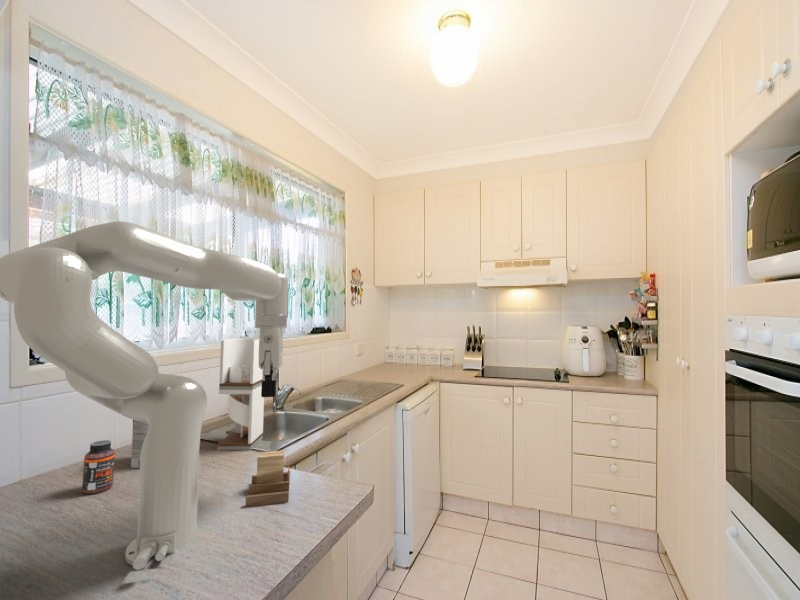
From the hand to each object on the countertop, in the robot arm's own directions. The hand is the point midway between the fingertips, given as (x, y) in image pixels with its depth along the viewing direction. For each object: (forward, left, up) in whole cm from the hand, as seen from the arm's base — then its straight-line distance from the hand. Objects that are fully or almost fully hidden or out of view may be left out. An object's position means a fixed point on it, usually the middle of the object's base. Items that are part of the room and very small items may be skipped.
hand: (268, 396), depth 90 cm
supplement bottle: (+12, +40, -24) cm, 48 cm away
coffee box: (+28, +34, -24) cm, 50 cm away
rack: (-3, -1, -24) cm, 24 cm away
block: (-1, -1, -22) cm, 22 cm away
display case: (+38, +11, -24) cm, 46 cm away
